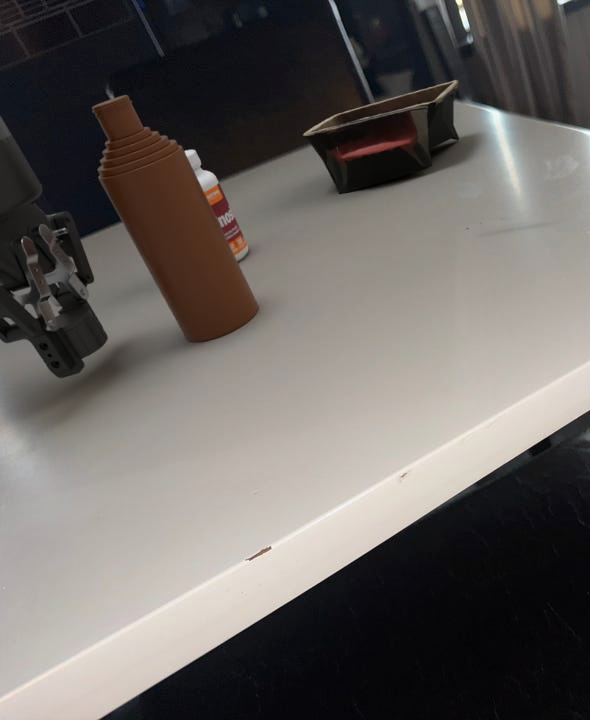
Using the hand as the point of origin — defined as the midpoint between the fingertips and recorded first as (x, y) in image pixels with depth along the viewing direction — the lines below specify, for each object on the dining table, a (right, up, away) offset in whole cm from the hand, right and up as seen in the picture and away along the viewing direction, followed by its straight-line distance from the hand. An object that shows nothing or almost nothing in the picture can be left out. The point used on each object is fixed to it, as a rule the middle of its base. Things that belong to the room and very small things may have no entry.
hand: (84, 357), depth 61 cm
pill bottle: (+5, +10, +18) cm, 21 cm away
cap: (-1, +3, -2) cm, 3 cm away
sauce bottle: (+10, +3, +3) cm, 11 cm away
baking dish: (+22, +23, +30) cm, 44 cm away
